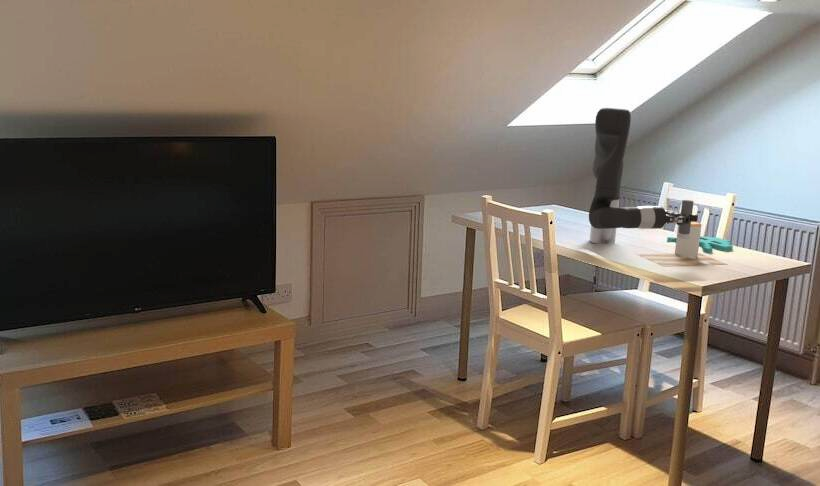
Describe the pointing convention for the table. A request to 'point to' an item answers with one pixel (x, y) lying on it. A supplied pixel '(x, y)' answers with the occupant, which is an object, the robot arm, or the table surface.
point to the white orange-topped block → (689, 242)
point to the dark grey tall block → (685, 209)
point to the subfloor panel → (681, 260)
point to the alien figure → (710, 243)
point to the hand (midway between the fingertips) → (693, 216)
